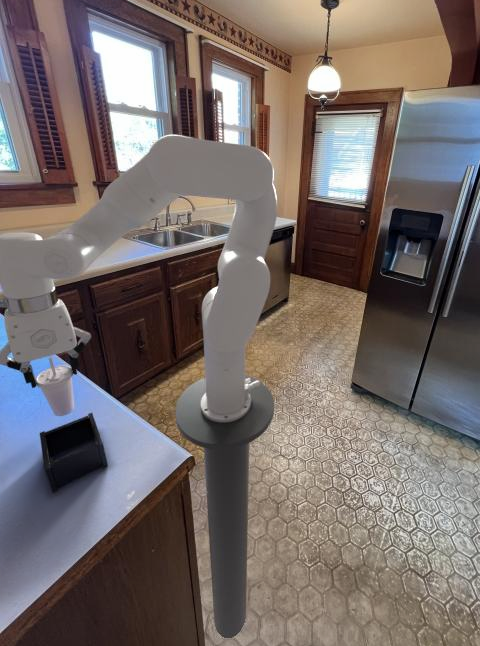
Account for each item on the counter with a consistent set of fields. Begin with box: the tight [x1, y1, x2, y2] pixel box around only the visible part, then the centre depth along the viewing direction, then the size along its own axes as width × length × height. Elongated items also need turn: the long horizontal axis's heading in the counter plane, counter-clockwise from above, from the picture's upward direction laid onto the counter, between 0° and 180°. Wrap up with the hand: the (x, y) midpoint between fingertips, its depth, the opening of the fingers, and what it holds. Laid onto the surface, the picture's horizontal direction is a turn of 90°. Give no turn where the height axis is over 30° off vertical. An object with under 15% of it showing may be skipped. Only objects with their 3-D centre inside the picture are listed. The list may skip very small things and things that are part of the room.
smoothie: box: [35, 357, 75, 417], centre depth 66 cm, size 6×6×14 cm
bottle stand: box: [39, 412, 109, 494], centre depth 60 cm, size 9×10×6 cm
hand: (54, 376), depth 65 cm, fingers closed on smoothie, 6 cm apart
